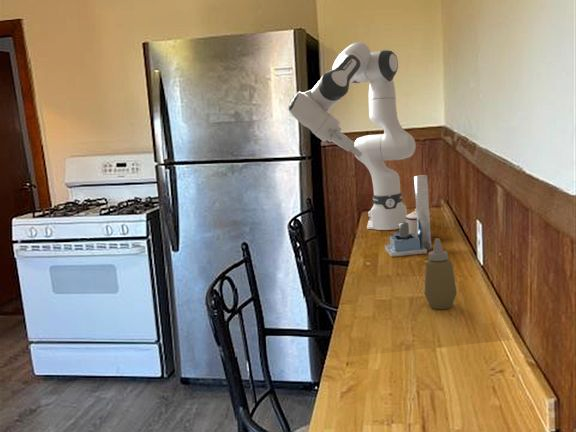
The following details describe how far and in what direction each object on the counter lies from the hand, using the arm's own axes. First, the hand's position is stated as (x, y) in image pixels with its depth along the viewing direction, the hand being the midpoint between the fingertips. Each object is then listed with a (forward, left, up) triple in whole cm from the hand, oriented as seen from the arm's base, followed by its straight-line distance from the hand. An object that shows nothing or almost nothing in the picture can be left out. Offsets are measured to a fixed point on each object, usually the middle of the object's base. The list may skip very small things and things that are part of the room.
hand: (358, 154), depth 208 cm
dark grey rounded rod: (+3, +13, -35) cm, 38 cm away
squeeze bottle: (+61, +10, -36) cm, 71 cm away
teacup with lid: (-14, +22, -36) cm, 44 cm away
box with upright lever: (0, +15, -35) cm, 38 cm away
